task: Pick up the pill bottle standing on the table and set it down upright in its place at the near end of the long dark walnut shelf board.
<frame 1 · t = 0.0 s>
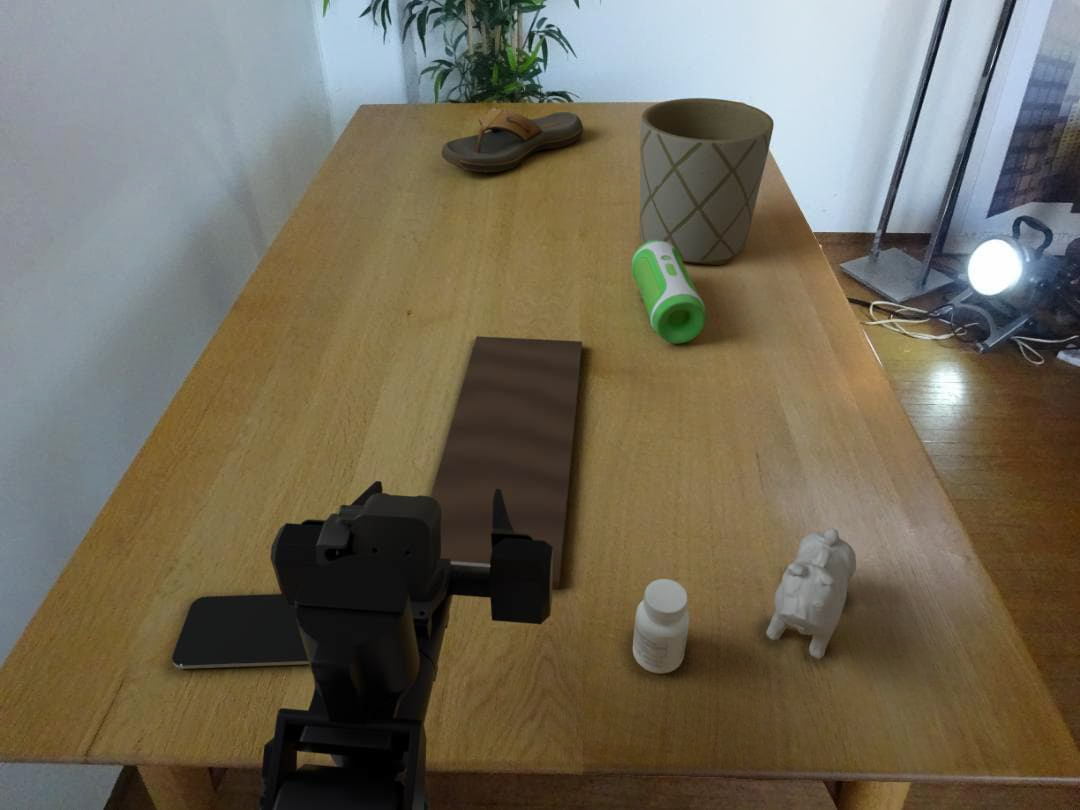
hand: (438, 488, 62), 17 cm above the table, tool horizontal, fingers open, 9 cm apart
speaker: (664, 314, 113), on the table
pill bottle: (657, 654, 69), on the table
smartphone: (270, 632, 71), on the table
planter: (691, 243, 130), on the table
dog figurine: (804, 627, 72), on the table
sandal: (515, 155, 161), on the table
shelf board: (510, 444, 91), on the table
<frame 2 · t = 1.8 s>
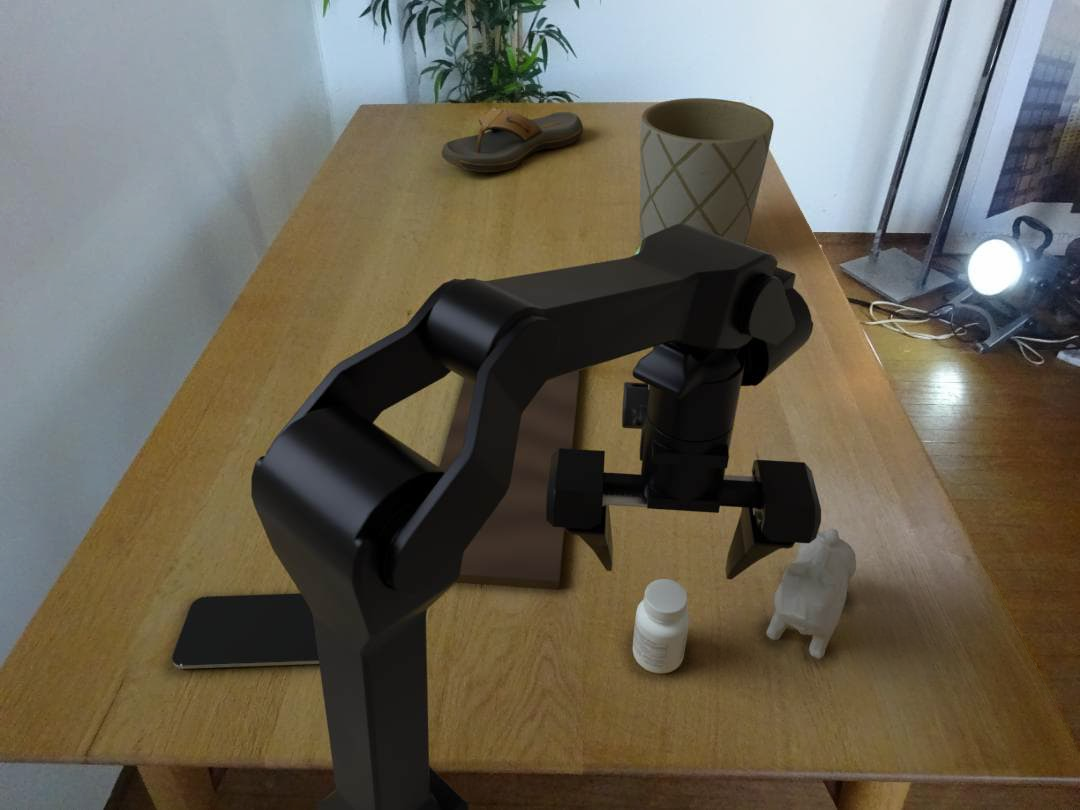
hand: (668, 570, 63), 11 cm above the table, tool pointing down, fingers open, 9 cm apart
nothing on the table moved.
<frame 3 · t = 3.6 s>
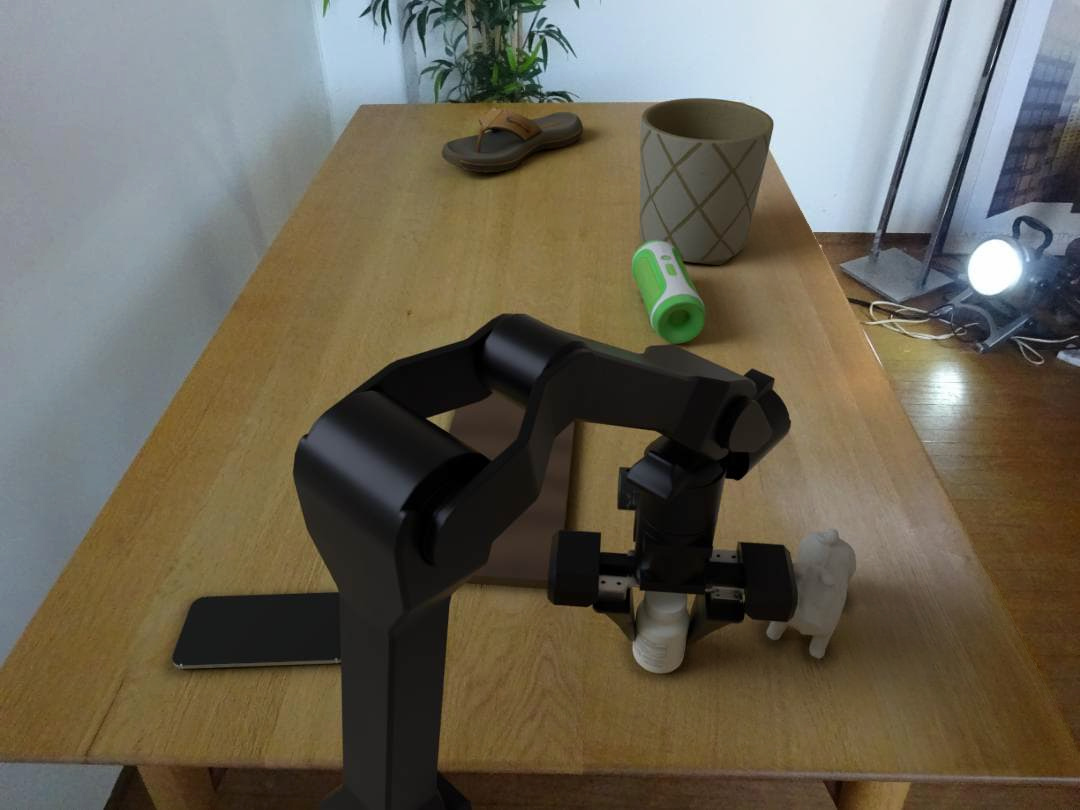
hand: (660, 638, 68), 2 cm above the table, tool pointing down, fingers closed on pill bottle, 4 cm apart
pill bottle: (657, 654, 69), on the table, touching gripper
everything else where it was.
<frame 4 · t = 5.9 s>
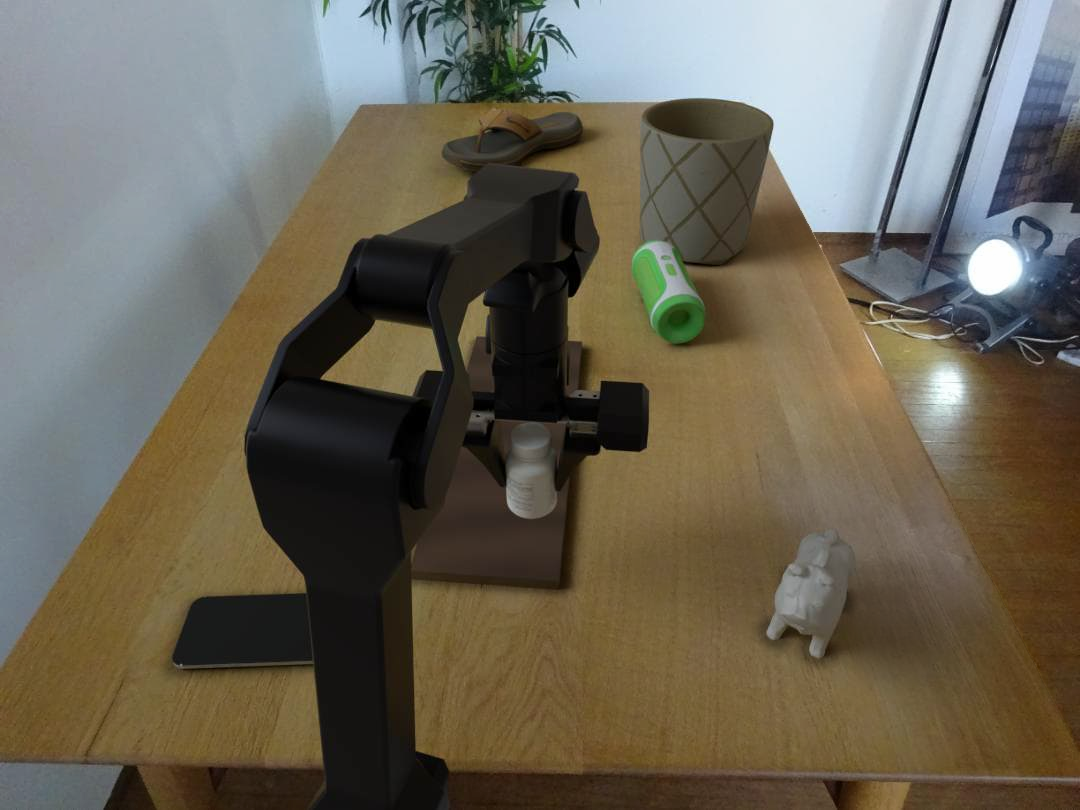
hand: (531, 485, 69), 11 cm above the table, tool pointing down, fingers closed on pill bottle, 4 cm apart
pill bottle: (531, 503, 71), point 9 cm above the table, touching gripper
everything else where it was.
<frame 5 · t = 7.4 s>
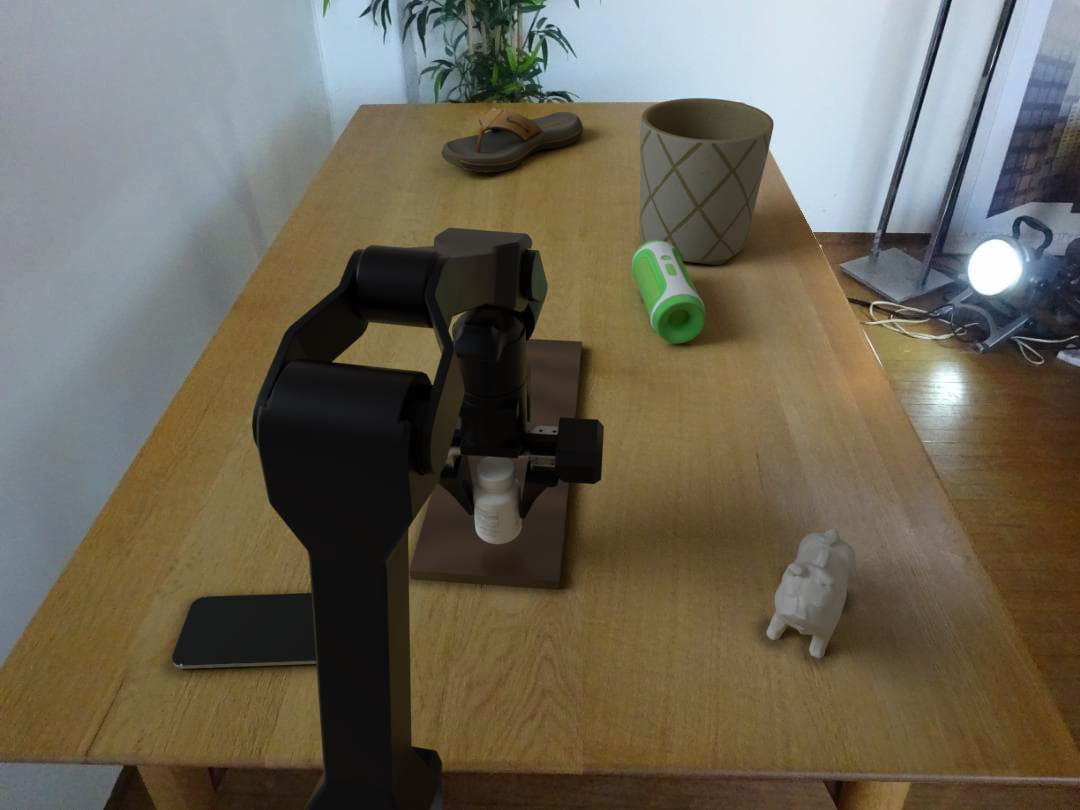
hand: (497, 513, 75), 6 cm above the table, tool pointing down, fingers closed on pill bottle, 4 cm apart
pill bottle: (498, 529, 76), point 3 cm above the table, touching gripper
everything else where it was.
when the fingers open (3 cm above the table, at t = 8.4 s): pill bottle stays where it is, resting on shelf board.
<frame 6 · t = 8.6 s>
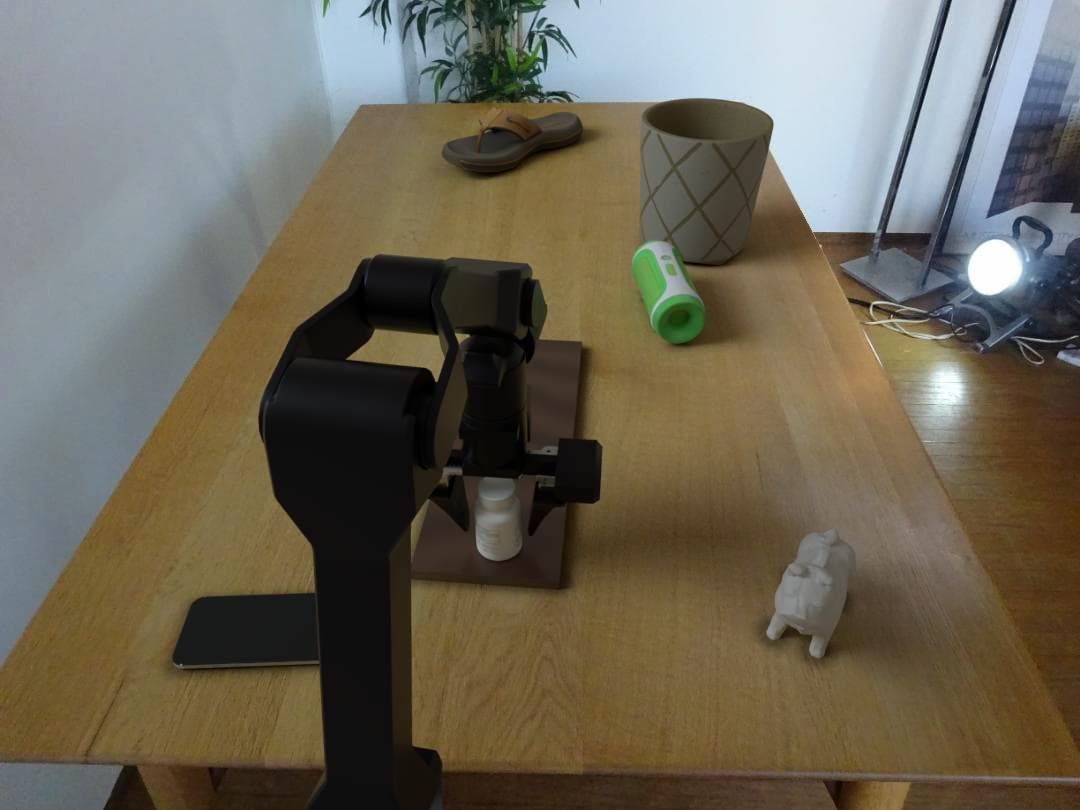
hand: (498, 530, 76), 3 cm above the table, tool pointing down, fingers open, 6 cm apart
pill bottle: (499, 546, 78), point 1 cm above the table, touching shelf board
everything else where it was.
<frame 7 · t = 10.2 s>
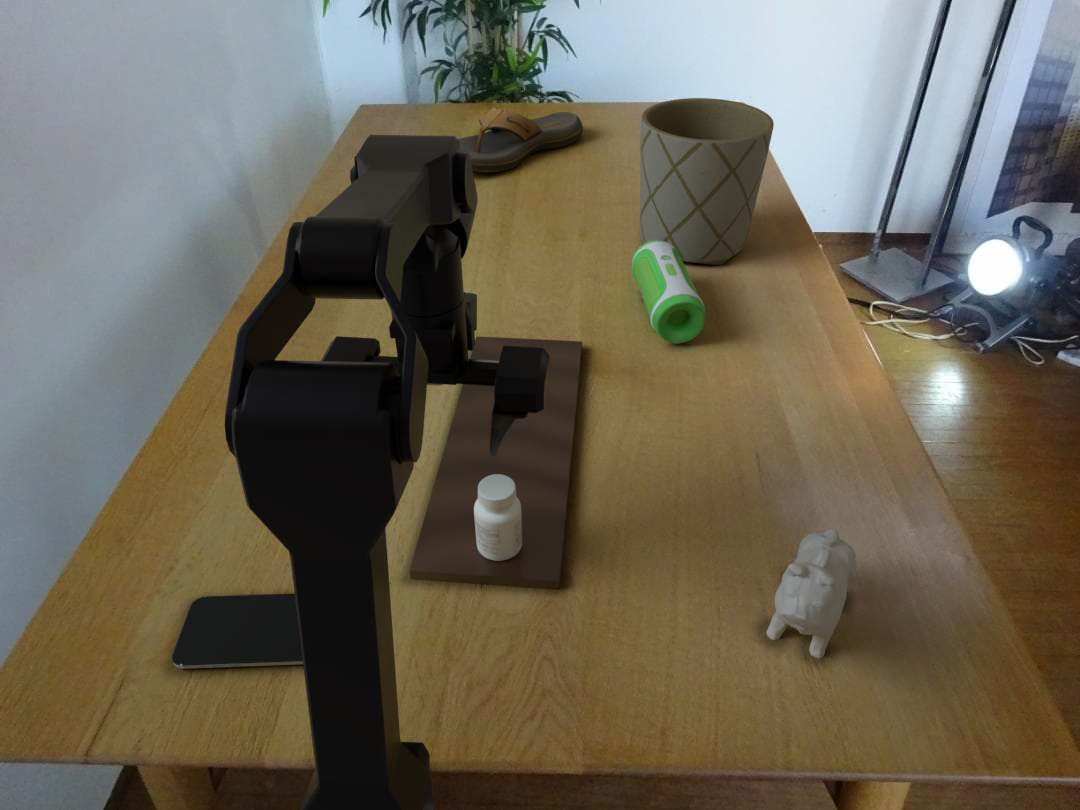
hand: (443, 449, 72), 12 cm above the table, tool pointing down, fingers open, 9 cm apart
nothing on the table moved.
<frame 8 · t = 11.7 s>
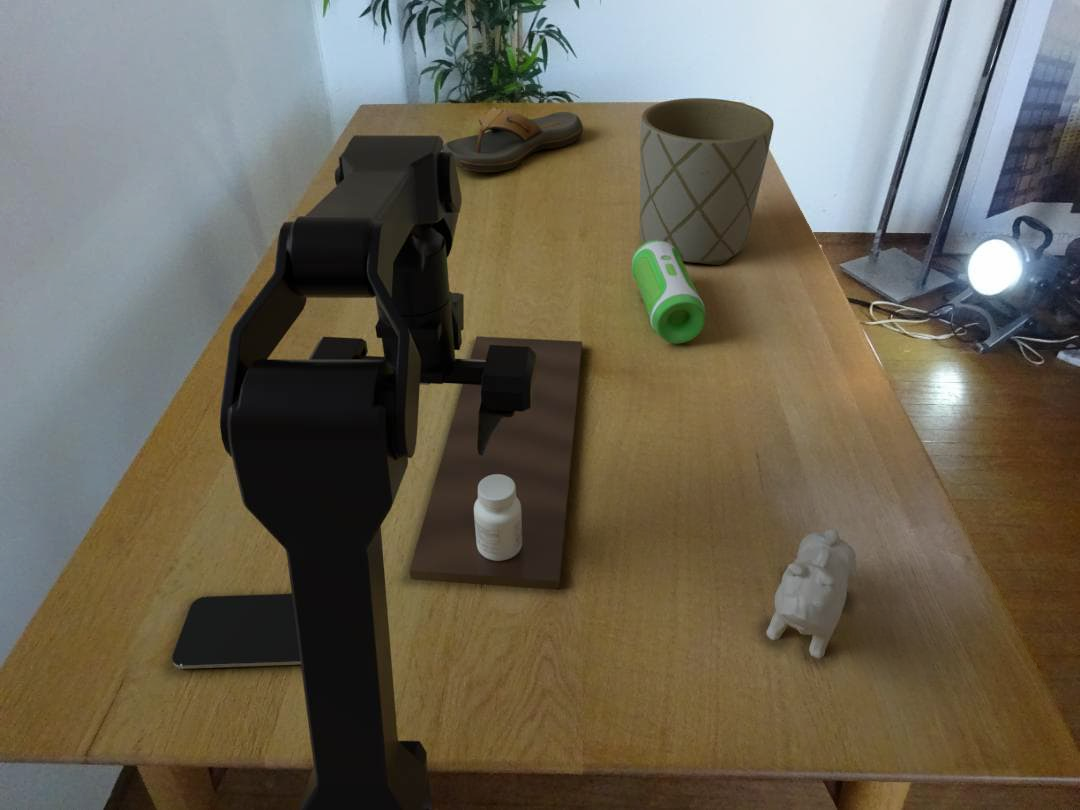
hand: (430, 449, 72), 12 cm above the table, tool pointing down, fingers open, 9 cm apart
nothing on the table moved.
at the end: pill bottle inside the target area on the shelf board (0.1 cm from its centre), point 1.0 cm above the shelf board's base; pill bottle tilted 0°; the gripper is holding nothing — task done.
